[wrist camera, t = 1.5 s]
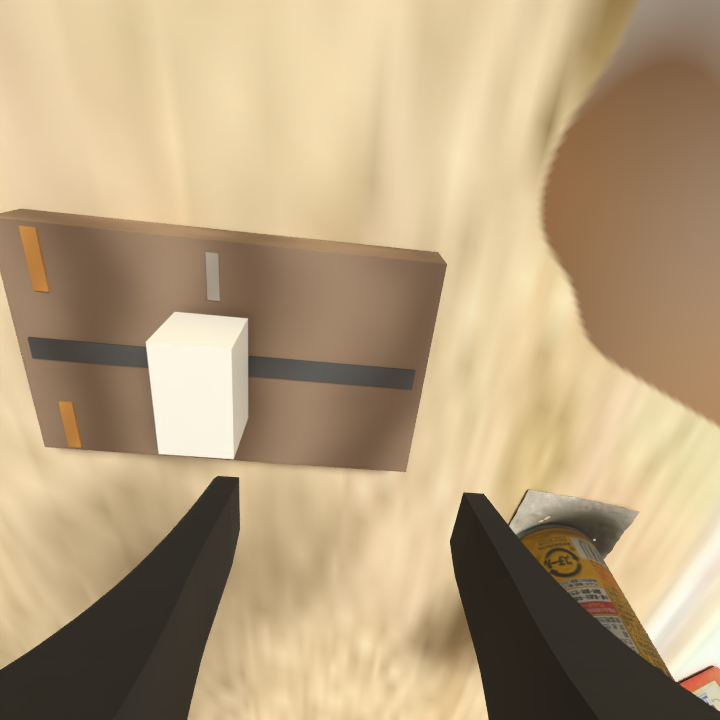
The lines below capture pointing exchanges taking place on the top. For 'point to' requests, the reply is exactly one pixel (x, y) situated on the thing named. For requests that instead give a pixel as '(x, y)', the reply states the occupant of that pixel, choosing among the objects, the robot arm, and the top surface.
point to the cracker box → (706, 686)
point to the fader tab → (199, 384)
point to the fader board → (232, 299)
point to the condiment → (584, 559)
